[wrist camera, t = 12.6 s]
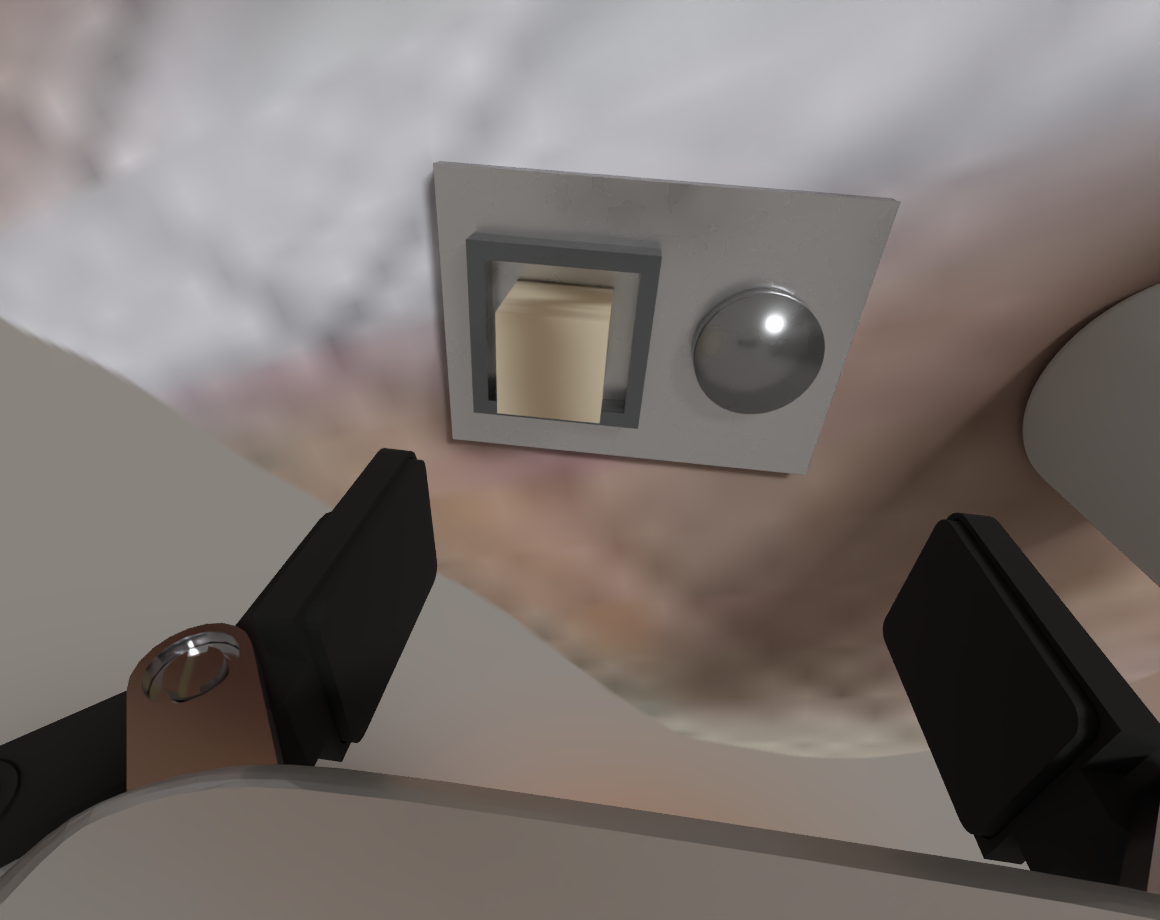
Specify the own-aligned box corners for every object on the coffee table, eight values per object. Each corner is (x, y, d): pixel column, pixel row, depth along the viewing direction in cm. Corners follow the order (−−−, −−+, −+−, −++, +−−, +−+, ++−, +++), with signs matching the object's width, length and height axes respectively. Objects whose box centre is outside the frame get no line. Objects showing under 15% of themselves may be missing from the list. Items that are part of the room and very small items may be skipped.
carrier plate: (891, 198, 24) (915, 207, 22) (801, 465, 32) (812, 490, 30) (440, 161, 25) (421, 166, 23) (457, 430, 33) (445, 452, 30)
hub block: (613, 287, 26) (609, 323, 22) (605, 376, 29) (599, 423, 25) (517, 279, 26) (495, 312, 22) (517, 368, 29) (497, 413, 25)
